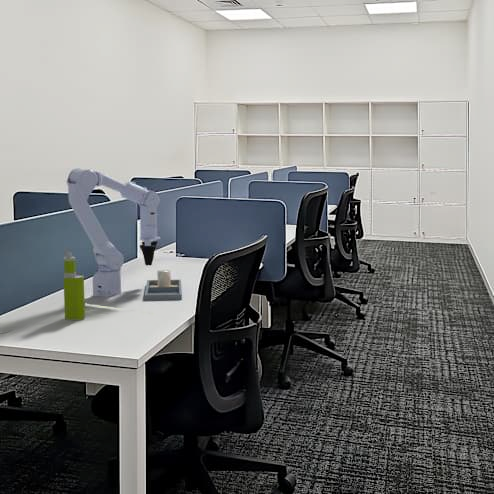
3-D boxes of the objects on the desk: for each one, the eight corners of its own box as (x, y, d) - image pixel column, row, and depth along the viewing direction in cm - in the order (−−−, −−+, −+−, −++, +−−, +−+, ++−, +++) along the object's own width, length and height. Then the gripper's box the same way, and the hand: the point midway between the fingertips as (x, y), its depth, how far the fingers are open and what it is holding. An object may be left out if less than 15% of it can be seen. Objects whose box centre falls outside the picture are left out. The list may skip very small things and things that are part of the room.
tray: (181, 301, 223) (181, 294, 223) (144, 302, 222) (144, 295, 221) (181, 286, 247) (180, 279, 246) (147, 286, 245) (147, 280, 245)
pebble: (166, 289, 237) (165, 272, 236) (155, 288, 239) (154, 271, 238) (173, 287, 241) (173, 270, 240) (162, 286, 243) (162, 269, 242)
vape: (67, 316, 204) (65, 250, 201) (86, 316, 204) (84, 250, 201) (62, 319, 201) (60, 252, 198) (82, 320, 200) (79, 252, 197)
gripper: (159, 227, 231) (159, 266, 233) (160, 222, 246) (161, 259, 248) (138, 227, 231) (139, 267, 233) (141, 222, 245) (141, 259, 247)
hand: (149, 263), depth 240 cm, fingers open, 7 cm apart
